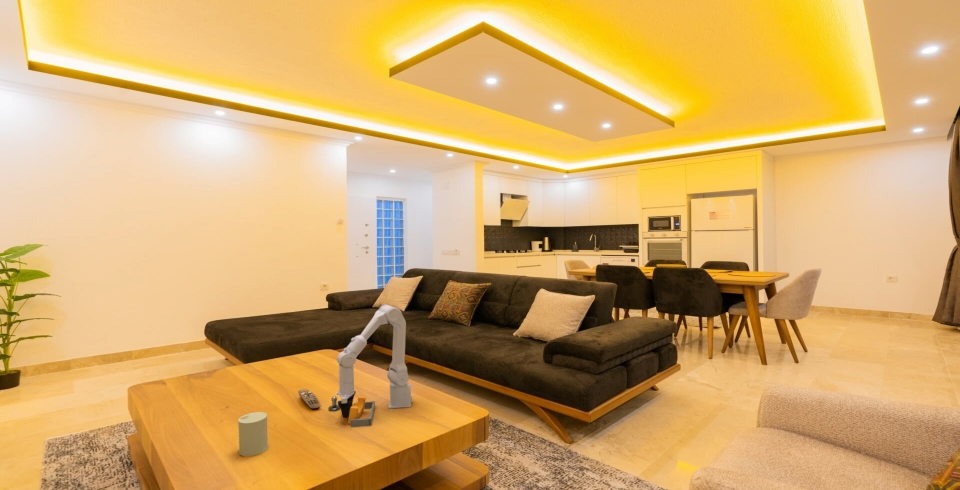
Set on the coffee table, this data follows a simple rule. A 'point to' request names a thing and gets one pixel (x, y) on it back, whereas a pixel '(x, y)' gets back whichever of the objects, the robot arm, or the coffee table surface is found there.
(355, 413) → the pipe clamp
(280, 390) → the coffee table surface
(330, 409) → the ball stud
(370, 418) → the u-shaped bracket
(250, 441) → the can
